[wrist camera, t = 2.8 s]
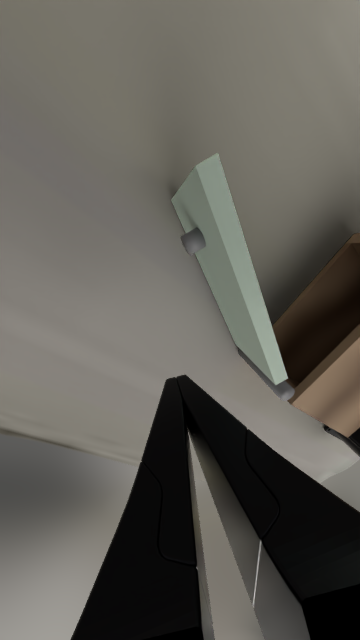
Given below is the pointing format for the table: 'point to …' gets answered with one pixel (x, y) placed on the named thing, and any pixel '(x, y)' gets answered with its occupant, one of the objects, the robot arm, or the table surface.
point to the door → (229, 269)
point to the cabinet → (326, 343)
